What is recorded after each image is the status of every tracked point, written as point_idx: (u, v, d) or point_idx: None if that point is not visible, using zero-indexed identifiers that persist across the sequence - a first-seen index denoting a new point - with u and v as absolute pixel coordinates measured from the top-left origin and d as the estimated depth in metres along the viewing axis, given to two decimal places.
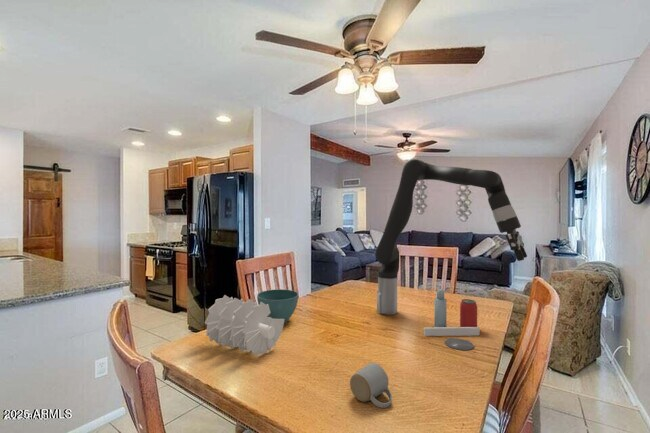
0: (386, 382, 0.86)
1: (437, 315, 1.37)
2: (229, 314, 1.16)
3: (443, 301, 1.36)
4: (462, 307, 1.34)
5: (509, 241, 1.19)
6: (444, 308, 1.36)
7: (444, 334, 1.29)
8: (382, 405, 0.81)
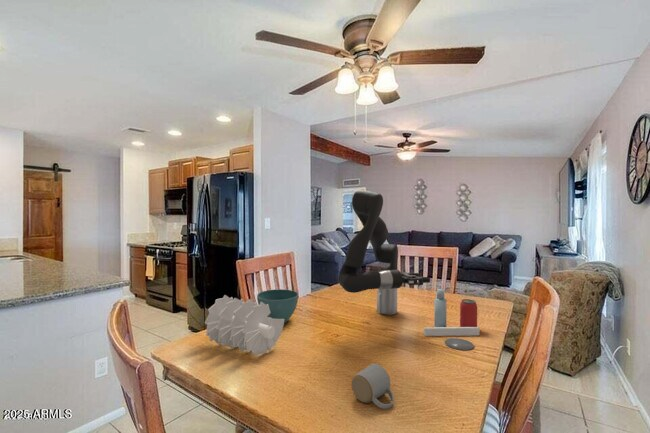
0: (388, 383, 0.85)
1: (437, 315, 1.37)
2: (229, 314, 1.16)
3: (443, 301, 1.36)
4: (462, 307, 1.34)
5: None
6: (444, 308, 1.36)
7: (444, 334, 1.29)
8: (384, 406, 0.81)
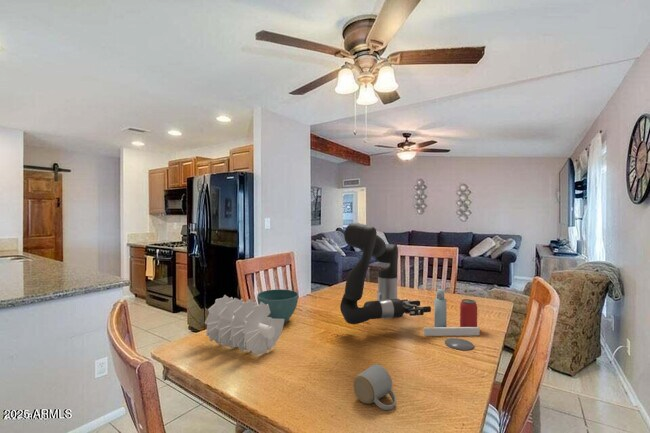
0: (390, 384, 0.85)
1: (437, 315, 1.37)
2: (229, 314, 1.16)
3: (443, 301, 1.36)
4: (462, 307, 1.34)
5: None
6: (444, 308, 1.36)
7: (444, 334, 1.29)
8: (386, 407, 0.80)
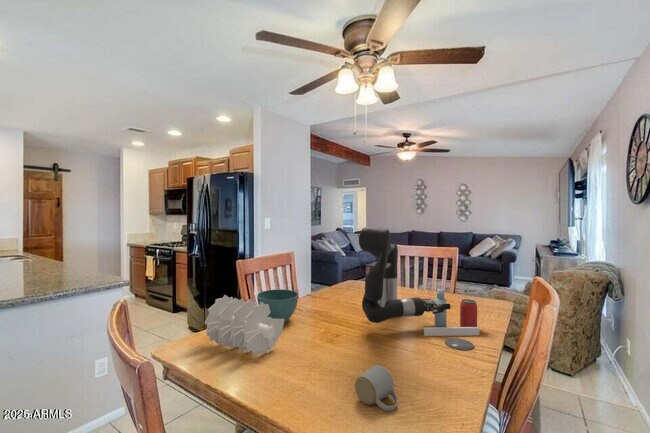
0: (392, 385, 0.85)
1: (437, 315, 1.37)
2: (229, 314, 1.16)
3: (443, 301, 1.36)
4: (462, 307, 1.34)
5: None
6: None
7: (444, 334, 1.29)
8: (388, 408, 0.80)
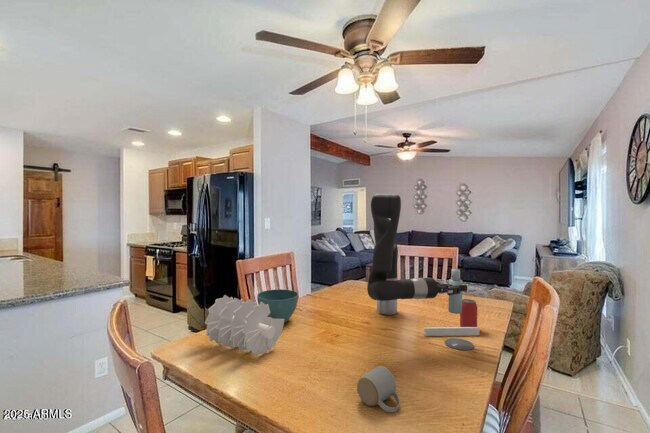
0: (394, 386, 0.84)
1: (452, 298, 1.21)
2: (229, 314, 1.16)
3: (459, 282, 1.20)
4: (462, 307, 1.34)
5: None
6: None
7: (444, 334, 1.29)
8: (390, 409, 0.79)
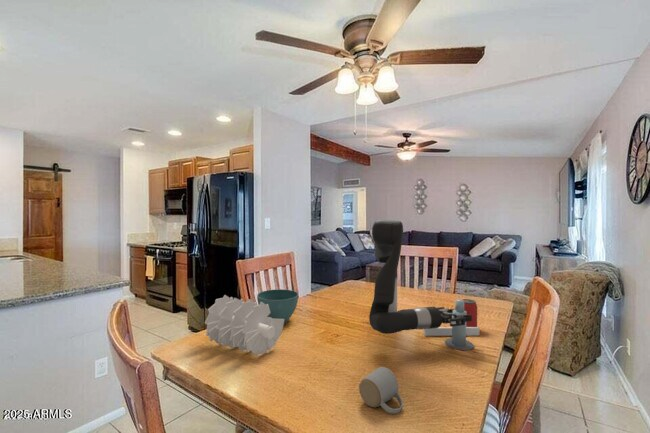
0: (396, 387, 0.84)
1: (455, 330, 1.18)
2: (229, 314, 1.16)
3: (463, 314, 1.18)
4: None
5: None
6: None
7: (444, 334, 1.29)
8: (393, 411, 0.79)
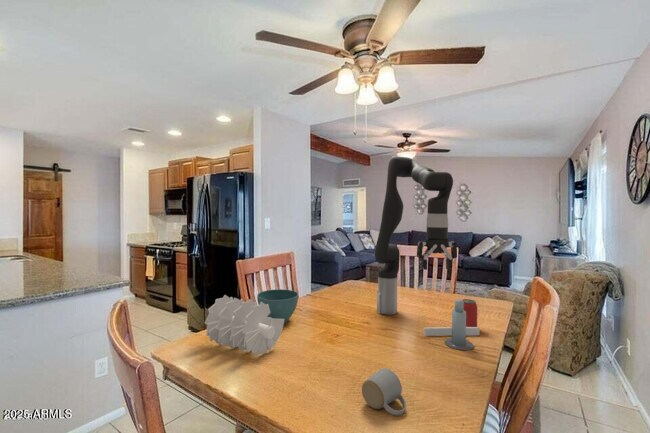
0: (399, 388, 0.83)
1: (455, 330, 1.19)
2: (229, 314, 1.16)
3: (462, 314, 1.18)
4: None
5: (417, 248, 1.21)
6: (463, 322, 1.18)
7: (444, 334, 1.29)
8: (396, 413, 0.78)
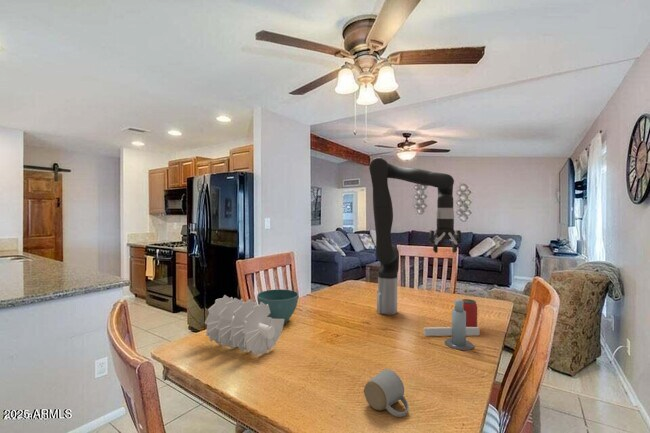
0: (402, 390, 0.82)
1: (455, 330, 1.19)
2: (229, 314, 1.16)
3: (462, 314, 1.18)
4: None
5: (429, 235, 1.51)
6: (463, 322, 1.18)
7: (444, 334, 1.29)
8: (398, 414, 0.77)
